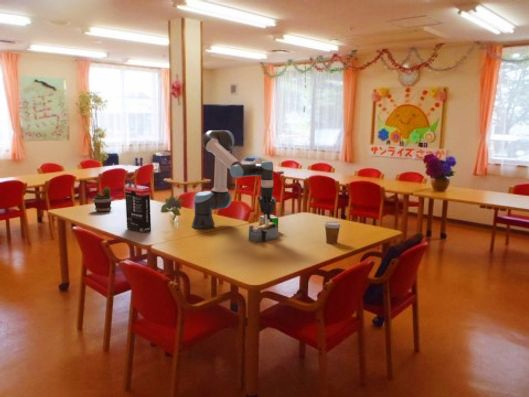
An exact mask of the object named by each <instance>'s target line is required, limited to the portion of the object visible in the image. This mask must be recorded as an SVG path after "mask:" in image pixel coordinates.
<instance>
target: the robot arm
mask: <svg viewBox="0 0 529 397" xmlns="http://www.w3.org/2000/svg"><path fill="white" fill-rule="evenodd" d="M201 144H202V146H203V148H204V150H206V152H209V153H212V155H214V174H213V175H214V178H213V179H214V180H213V181H214V182H213V188H211V191H210V190H208V191H207V190H205V191H200V192H196V193H195V194H194V199H193V201H194V217H193V221H192V223H191V227H192V228H194V229H199V230H200V229H201V230H206V229H212V228H215V225H216V224H215V221H214V217H213V211H215V210H222V209H223V210H224V209H226V208H229V207H230V205H231V203H232V195H231V192H229V189H228V186H227V185H228V184H227V182H228V169H229V174H230V177H232V178H245V177H255V176H256V177H258V176H259V177H260V193H261V194H260V196H258V197H257V200H258V201H259V207H260V212H261V213H263V216H264V219H265V225H268V224H269V219H270V215H272V214H273V213H274V208H275V204H276V202H277V198H275V197H274V195H273V193H274V187H273V186H274V162H273V161H270V160H263V161H261V162H260V163H258V162H257V163H256V162H250V163H244V164H243V163H241V161H239V160H238V159H237V158H236V157H235V156H234V155H233V154H232V153H230V152H231V148H233V147H234V145H235V137H234V135H233V133H232V132H231V131H229V130H225V129H224V130H223V129H221V130H220V129H219V130H208V131H206V132H205V133H203V135H202V138H201Z"/></svg>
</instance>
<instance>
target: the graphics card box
mask: <svg viewBox="0 0 529 397" xmlns="http://www.w3.org/2000/svg"><path fill="white" fill-rule="evenodd" d="M124 193H125V214H126V215H125V216H126V229H127V230H132V231H135V232H139V233H147V232H151V231H152V222H151V221H152V219H151V218H152V217H151V192H150V190H147V189H140V188H135V187H126V188H124Z"/></svg>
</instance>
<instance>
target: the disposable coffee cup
mask: <svg viewBox="0 0 529 397" xmlns="http://www.w3.org/2000/svg"><path fill="white" fill-rule="evenodd" d="M341 226H342V225H341V223H340V222H337V221H326V222H325V223H324V227H325V237H326V238H325V239H326V243H327V244H329V245H335V244H337V243H338V239H339V233H340V228H341Z"/></svg>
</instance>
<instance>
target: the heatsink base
mask: <svg viewBox="0 0 529 397" xmlns="http://www.w3.org/2000/svg"><path fill="white" fill-rule="evenodd" d="M271 223H273V222H271ZM257 227H258V232H257V231H252V230H251V229H252V228H257ZM278 238H279V227H278V228H276V223H273V225H270V226H268V227H265V228H263V229H262V227H259V225H258V226H255V227H254V225H253V224H251V225H248V241H249V242H255V243H258V244H259V243H262V242H266V243H267V242H269V241H272V240H275V239H278Z"/></svg>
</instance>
